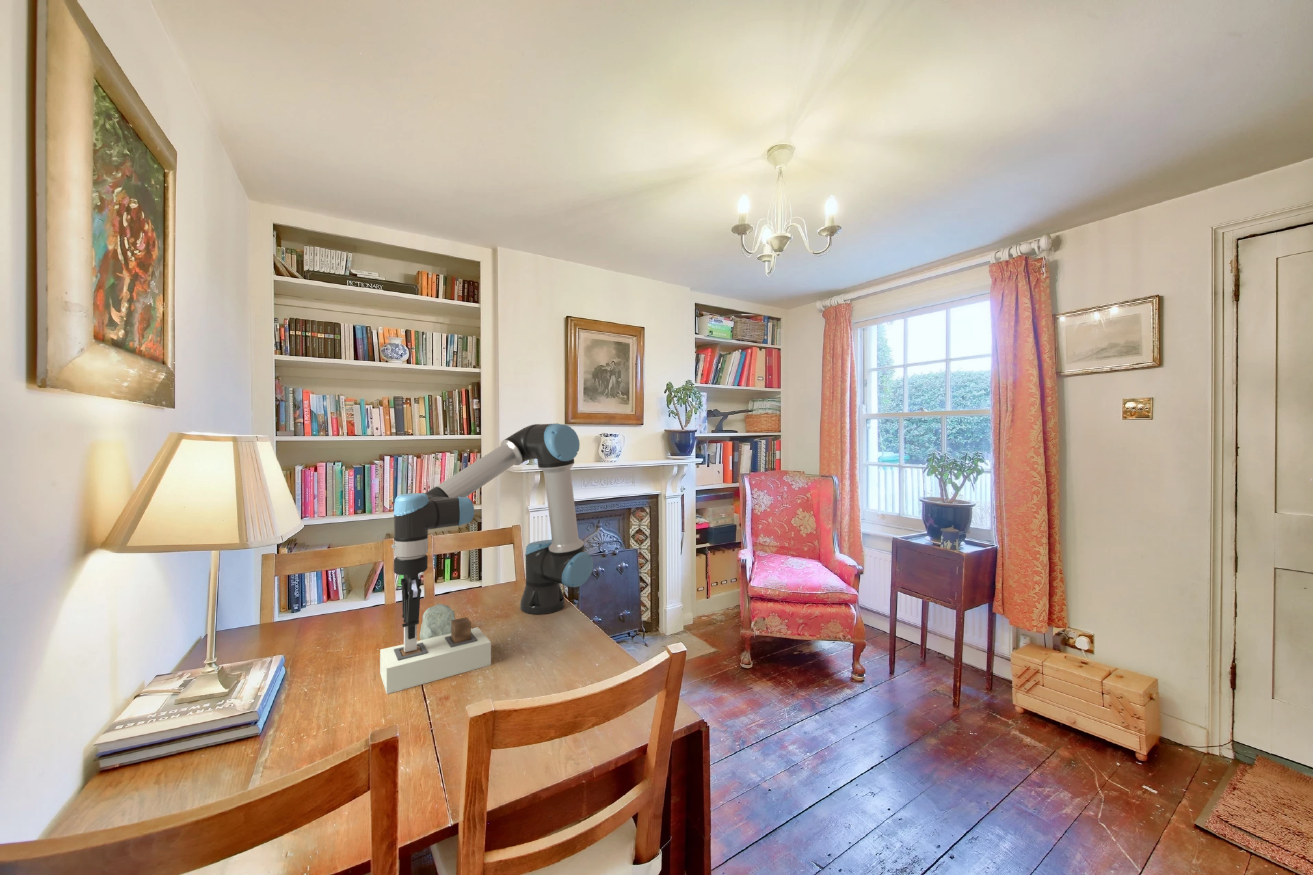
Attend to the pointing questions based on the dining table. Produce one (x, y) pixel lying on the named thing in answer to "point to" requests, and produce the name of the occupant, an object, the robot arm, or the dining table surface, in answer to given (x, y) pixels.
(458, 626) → the peg
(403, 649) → the peg
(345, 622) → the dining table surface
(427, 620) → the decorative stone
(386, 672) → the socket block
